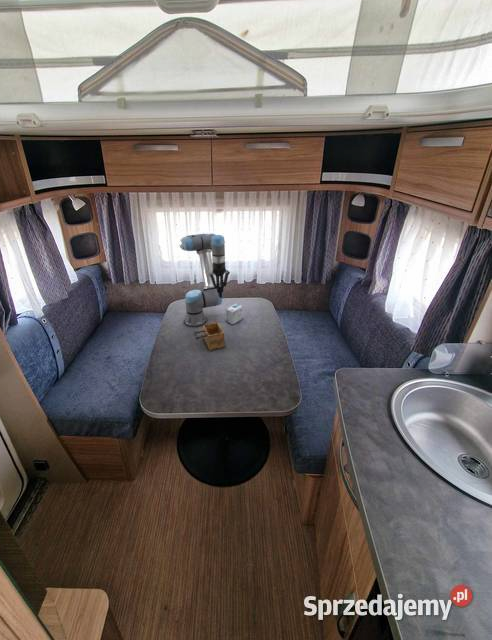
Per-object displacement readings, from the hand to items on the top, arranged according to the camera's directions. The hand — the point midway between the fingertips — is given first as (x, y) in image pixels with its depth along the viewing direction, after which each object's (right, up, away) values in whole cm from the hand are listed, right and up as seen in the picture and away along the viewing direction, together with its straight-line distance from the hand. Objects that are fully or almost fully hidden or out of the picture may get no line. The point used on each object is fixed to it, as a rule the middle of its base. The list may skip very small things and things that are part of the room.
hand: (220, 296), depth 177 cm
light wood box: (0, -25, +6) cm, 25 cm away
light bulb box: (+10, -19, +31) cm, 38 cm away
